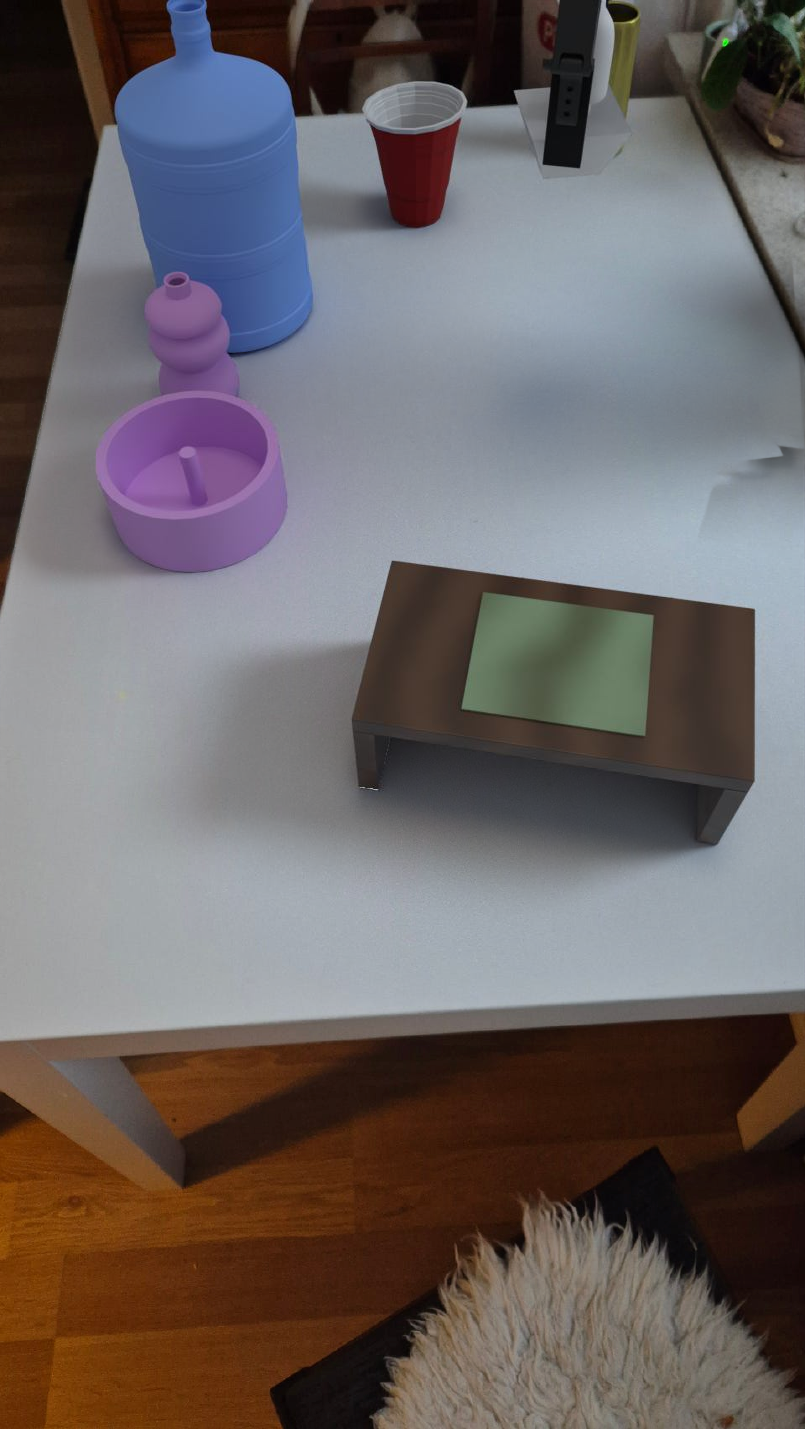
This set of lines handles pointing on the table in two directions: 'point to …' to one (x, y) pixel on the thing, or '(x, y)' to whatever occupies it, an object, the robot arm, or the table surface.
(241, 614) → the table surface
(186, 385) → the container set
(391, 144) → the plastic cup
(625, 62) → the vase
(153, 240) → the water jug
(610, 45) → the figurine
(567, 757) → the shelf
